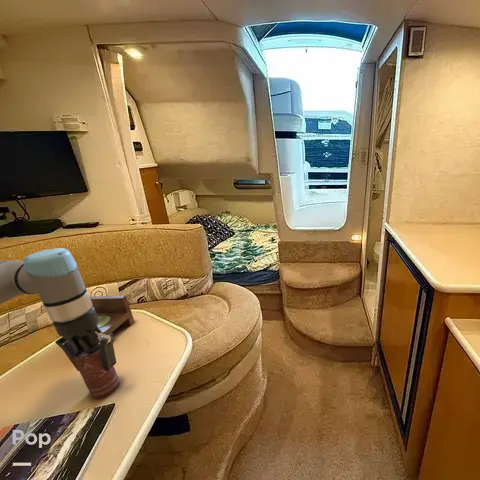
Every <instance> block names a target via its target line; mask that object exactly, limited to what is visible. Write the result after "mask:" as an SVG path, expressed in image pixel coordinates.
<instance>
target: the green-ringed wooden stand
mask: <svg viewBox="0 0 480 480" xmlns="http://www.w3.org/2000/svg"><path fill="white" fill-rule="evenodd" d="M89 297H90V300H91V302H92V307H94V309H95V311H96V314H97V316H98V323H97V326H98V328H99V329H100V330H101V332H102V333H103V334H105V335H108V334H109V333H112V334H113V332H114V331H116V330H117V329H118V328H119V327H131V326H133V325H134V324H135V323H136V321H135V318H134V315H133V313H132V310H131V307H130V304H129V301H128V298H127V296H126V295H102V296H101V295H100V296H99V295H97V296H89ZM112 342H113V343H114V342H115V341H114V339H113V340H112Z"/></svg>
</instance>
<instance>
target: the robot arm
mask: <svg viewBox="0 0 480 480" xmlns="http://www.w3.org/2000/svg"><path fill="white" fill-rule="evenodd" d="M22 295H38V297H39V298H40V301H41V302H42V305H43V307H44V309H45V311H46V314H47V316H48V319H49V320H50V321H52V326H53V328H54V329H55V331H56V334H57V335H58V336H59V338H58V339H56V340H55V344H56V345H57V346H58V347H59V348H61V350H62V351H63V352H64V353H65V355H66V357H67V358H68V359H69V361H70V362H71V363H72V365H73V367H74V368H75V369H76V371H77V372H80V371H79V369H78V367H77V365H76V363H75V361H74V354H75V352H77V354H82V352H89V354H92V353H94V352H96V351H97V350H98V349H99V348H100V352H101V356H102V361H103V365H104V369H105V371H109V370H110V369H111V368H112V367H113V366H114V367H115V365H116V364H117V358H116V353H115V348H114V342H112V340H113V341H114V334H113V332H112V333H109V334H108V335H105V334H103V333H102V332H101V330H100V329H99V328H98V326H97V323H98V316H97V314H96V311H95V309H94V307H92V302H91V300H90V297H91V296H90V295H89V292H88V289H87V288H86V285H85V283H84V279H83V278H82V274H81V272H80V270H79V266H78V262H76V260H75V258H74V257H73V255H72V253H71V251H70V250H69V249H67V248H63V247H56V248H50V249H49V248H48V249H44V250H43V249H42V250H40V251H36V252H34V253H31V254H29V255H27V256H24V258H23V260H14V259H10V260H5V259H4V260H0V305H3V304H4V303H6V302H8V301H10V300H13V299H15V298H17V297H19V296H22ZM100 375H101V374H100Z"/></svg>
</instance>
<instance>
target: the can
mask: <svg viewBox="0 0 480 480" xmlns="http://www.w3.org/2000/svg"><path fill="white" fill-rule="evenodd" d="M74 361H75V363H76V365H77V367H78V369H79V371H78V372H79V373H80V376H81V377H82V379H83V380H82V381H83V382H84V384H85V386H86V388H87V390H88V392H89V394H90V396H91V399H93V400H102V399H105V398H107V397H109V396H110V395H112V394H114V393H115V392H116V391H117V390H118V389H119V388H120V386H121V380H120V377H119V376H118V373H117V371H116V369H115V365H114V366H113V367H112V368H111V369H110V370H109V371H105V369H104V365H103V361H102V356H101V352H100V348H99V349H98V350H97V351H96V352H94V353H92V354H89V352H82V354H77V352H75V354H74ZM100 374H101V375H100Z"/></svg>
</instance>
